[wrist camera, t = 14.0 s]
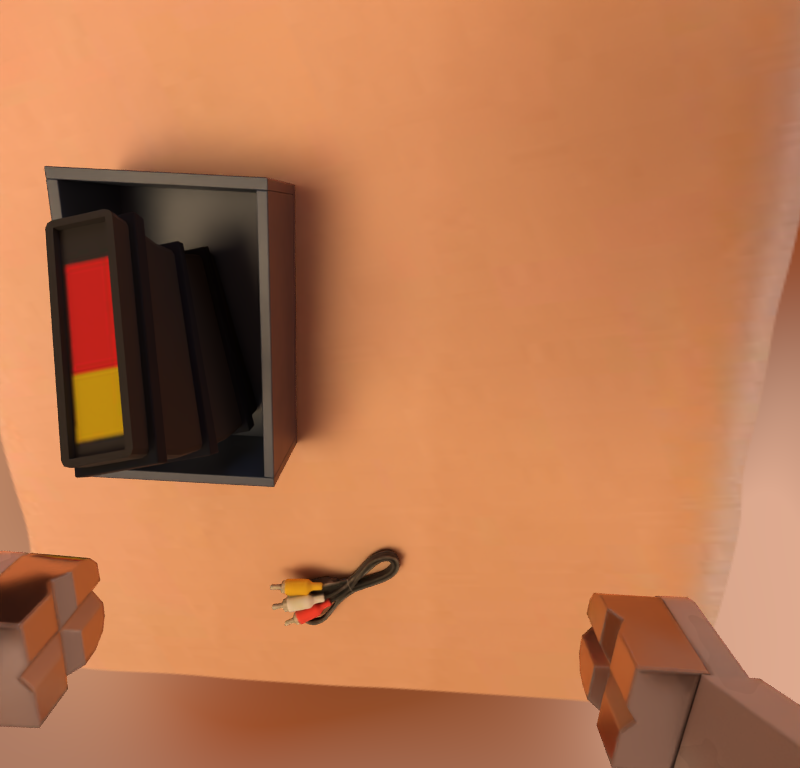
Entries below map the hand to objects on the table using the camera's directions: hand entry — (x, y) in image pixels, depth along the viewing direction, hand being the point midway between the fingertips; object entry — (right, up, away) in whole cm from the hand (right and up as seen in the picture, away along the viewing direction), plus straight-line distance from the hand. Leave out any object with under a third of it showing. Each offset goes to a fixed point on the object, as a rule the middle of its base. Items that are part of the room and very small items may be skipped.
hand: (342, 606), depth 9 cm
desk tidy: (-12, +8, +27) cm, 30 cm away
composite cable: (-4, -12, +33) cm, 35 cm away
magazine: (-11, +8, +26) cm, 30 cm away
